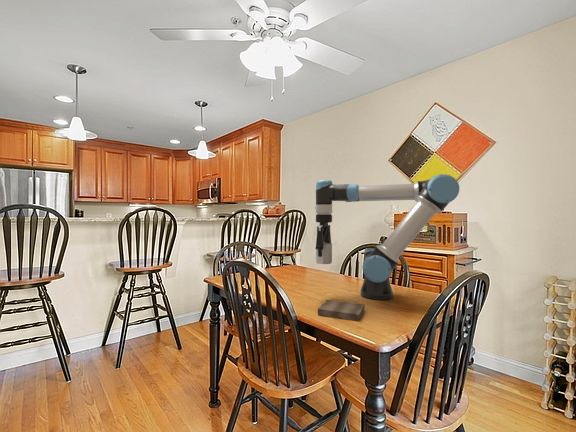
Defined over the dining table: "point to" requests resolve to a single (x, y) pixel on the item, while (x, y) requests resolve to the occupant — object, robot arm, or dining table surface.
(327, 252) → the cup
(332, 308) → the board
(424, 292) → the dining table surface
